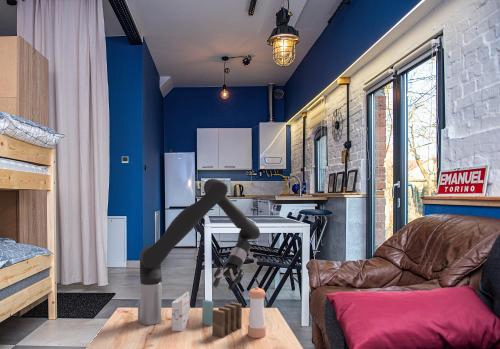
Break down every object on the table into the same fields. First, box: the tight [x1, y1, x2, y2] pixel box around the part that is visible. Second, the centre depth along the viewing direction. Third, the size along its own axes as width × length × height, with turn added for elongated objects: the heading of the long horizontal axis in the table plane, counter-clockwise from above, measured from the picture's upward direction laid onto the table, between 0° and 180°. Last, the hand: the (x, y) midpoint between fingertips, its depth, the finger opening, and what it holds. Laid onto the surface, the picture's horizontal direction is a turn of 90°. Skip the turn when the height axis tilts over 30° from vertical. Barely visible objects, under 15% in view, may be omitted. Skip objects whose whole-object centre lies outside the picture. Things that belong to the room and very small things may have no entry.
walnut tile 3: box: [224, 304, 237, 333], centre depth 160 cm, size 2×5×10 cm, turn 57°
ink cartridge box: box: [171, 290, 191, 332], centre depth 163 cm, size 9×5×15 cm, turn 168°
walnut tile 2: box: [229, 301, 243, 330], centre depth 164 cm, size 2×5×10 cm, turn 57°
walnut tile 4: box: [217, 306, 231, 336], centre depth 157 cm, size 2×5×10 cm, turn 57°
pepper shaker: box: [247, 286, 267, 339], centre depth 155 cm, size 7×7×19 cm
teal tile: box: [201, 299, 215, 327], centre depth 167 cm, size 2×5×10 cm, turn 57°
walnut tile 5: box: [211, 309, 226, 339], centre depth 154 cm, size 2×5×10 cm, turn 57°
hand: (222, 287), depth 176 cm, fingers open, 8 cm apart
